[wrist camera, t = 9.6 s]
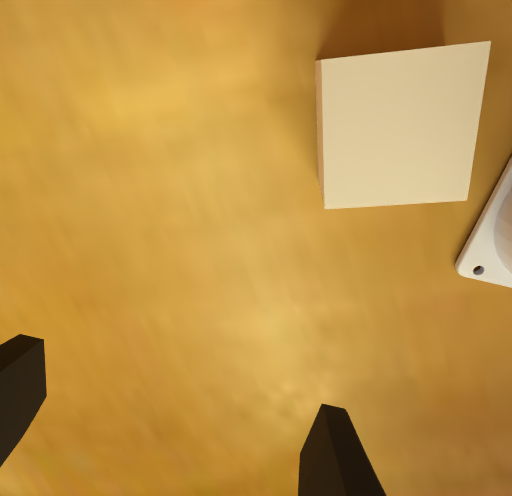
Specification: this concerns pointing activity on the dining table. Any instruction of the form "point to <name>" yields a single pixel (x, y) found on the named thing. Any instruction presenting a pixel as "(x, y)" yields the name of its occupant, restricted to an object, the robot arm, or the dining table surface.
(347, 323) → the dining table surface
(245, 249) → the dining table surface
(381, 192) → the cream block
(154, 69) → the dining table surface
